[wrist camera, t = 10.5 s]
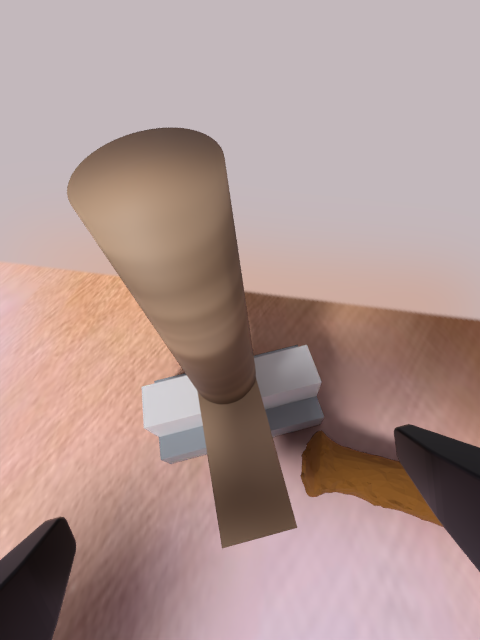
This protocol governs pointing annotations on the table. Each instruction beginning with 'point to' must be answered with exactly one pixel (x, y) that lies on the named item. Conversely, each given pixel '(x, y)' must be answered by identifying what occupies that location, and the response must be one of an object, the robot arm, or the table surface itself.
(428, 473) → the robot arm
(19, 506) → the table surface
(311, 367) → the ridge block
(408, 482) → the primitive tool
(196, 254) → the t bar
